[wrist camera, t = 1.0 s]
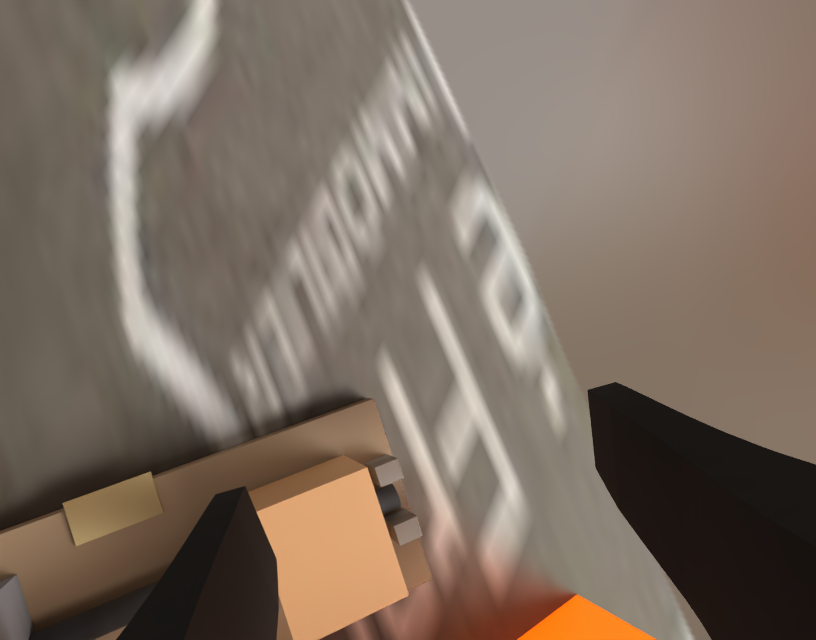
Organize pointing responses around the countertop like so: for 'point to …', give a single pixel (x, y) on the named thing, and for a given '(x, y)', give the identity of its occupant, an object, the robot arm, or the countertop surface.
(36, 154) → the countertop surface
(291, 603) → the tan small block
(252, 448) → the cord board
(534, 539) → the countertop surface
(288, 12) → the countertop surface
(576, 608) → the orange juice
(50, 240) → the countertop surface
